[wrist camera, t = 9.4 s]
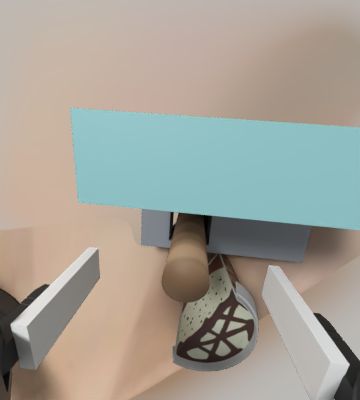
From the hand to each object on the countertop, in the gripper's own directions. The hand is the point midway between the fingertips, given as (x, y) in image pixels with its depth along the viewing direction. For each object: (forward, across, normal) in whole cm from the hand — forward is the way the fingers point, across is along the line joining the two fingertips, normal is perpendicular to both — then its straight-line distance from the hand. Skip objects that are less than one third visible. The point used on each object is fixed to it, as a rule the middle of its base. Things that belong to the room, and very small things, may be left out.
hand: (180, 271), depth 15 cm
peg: (+13, +1, 0) cm, 13 cm away
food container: (+13, +6, -11) cm, 18 cm away
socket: (+13, +5, +4) cm, 14 cm away
